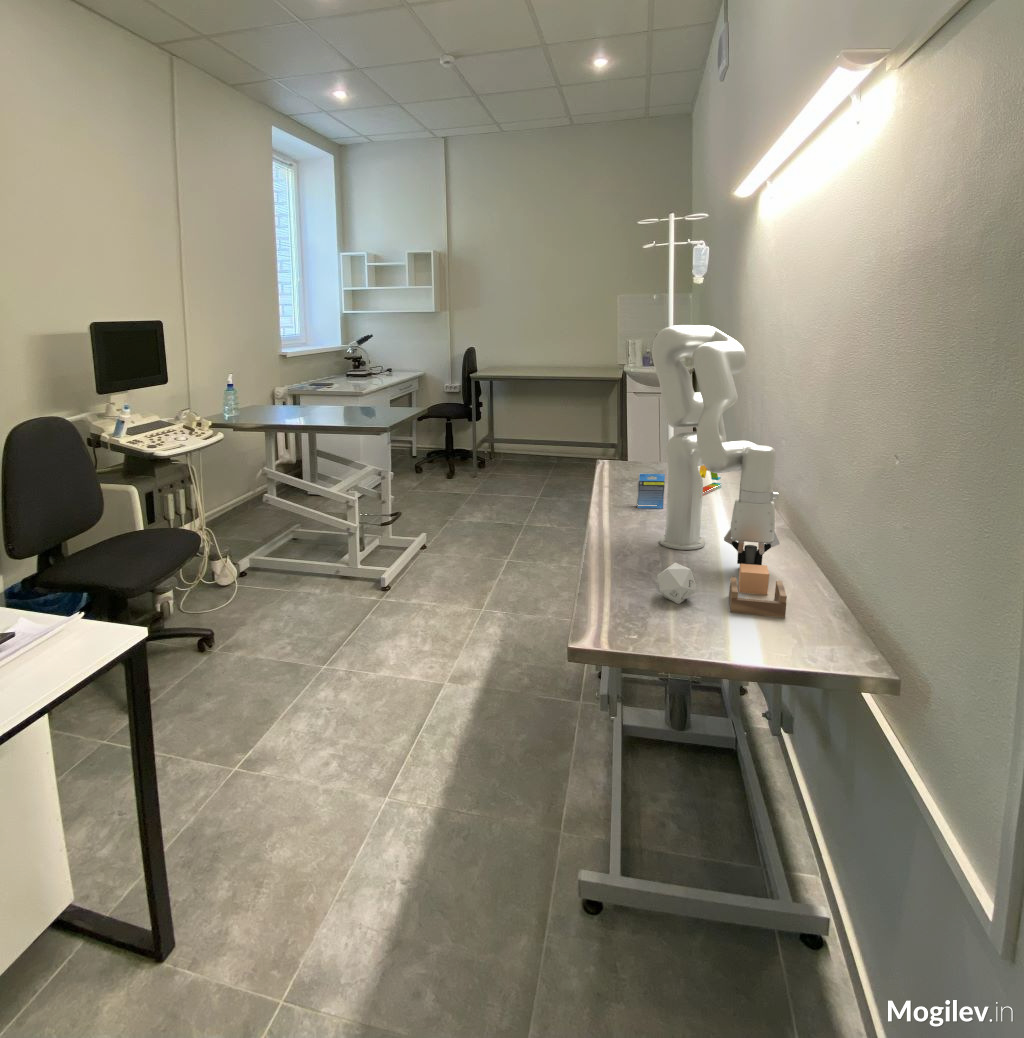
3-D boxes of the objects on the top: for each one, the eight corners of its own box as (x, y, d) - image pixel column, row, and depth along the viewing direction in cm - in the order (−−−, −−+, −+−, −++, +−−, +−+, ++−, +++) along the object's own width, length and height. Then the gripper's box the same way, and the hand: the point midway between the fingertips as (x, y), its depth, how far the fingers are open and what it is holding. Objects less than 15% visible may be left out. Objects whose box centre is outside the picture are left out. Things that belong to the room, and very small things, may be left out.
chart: (687, 503, 232) (690, 461, 228) (679, 502, 234) (681, 460, 230) (721, 488, 255) (724, 450, 251) (713, 487, 257) (716, 449, 253)
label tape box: (662, 506, 228) (663, 471, 225) (663, 509, 224) (665, 473, 221) (636, 505, 229) (637, 471, 226) (637, 508, 225) (638, 473, 222)
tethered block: (736, 566, 167) (737, 543, 166) (761, 568, 166) (763, 545, 164) (739, 592, 150) (741, 567, 149) (767, 594, 149) (769, 570, 147)
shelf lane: (729, 595, 149) (730, 576, 147) (779, 600, 146) (781, 581, 145) (730, 612, 140) (732, 592, 138) (784, 617, 137) (787, 597, 136)
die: (657, 608, 144) (686, 580, 139) (643, 579, 150) (669, 551, 144) (683, 614, 148) (712, 587, 143) (668, 585, 154) (695, 558, 149)
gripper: (789, 494, 161) (782, 565, 166) (720, 491, 166) (715, 560, 171) (793, 501, 155) (785, 575, 159) (720, 498, 159) (715, 569, 164)
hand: (749, 566), depth 165 cm, fingers closed on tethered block, 3 cm apart
